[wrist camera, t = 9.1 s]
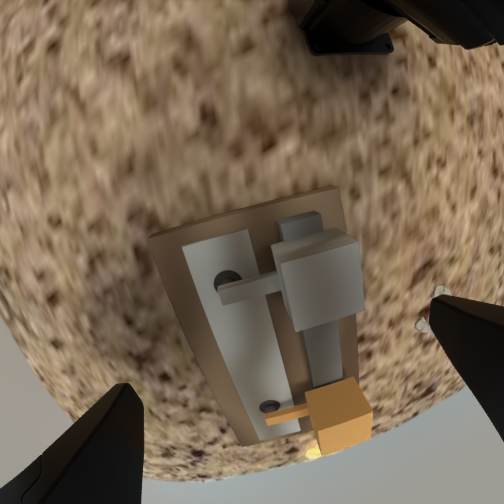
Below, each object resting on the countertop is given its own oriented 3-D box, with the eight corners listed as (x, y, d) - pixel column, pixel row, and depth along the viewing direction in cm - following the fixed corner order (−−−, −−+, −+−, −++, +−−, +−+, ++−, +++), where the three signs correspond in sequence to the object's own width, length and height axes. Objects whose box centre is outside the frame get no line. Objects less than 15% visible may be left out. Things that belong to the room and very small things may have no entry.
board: (331, 185, 18) (370, 197, 13) (354, 406, 25) (373, 444, 20) (151, 234, 18) (125, 263, 13) (241, 437, 25) (245, 480, 20)
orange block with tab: (349, 369, 21) (372, 411, 16) (350, 398, 22) (370, 438, 17) (258, 395, 21) (266, 444, 16) (269, 423, 22) (277, 467, 17)
